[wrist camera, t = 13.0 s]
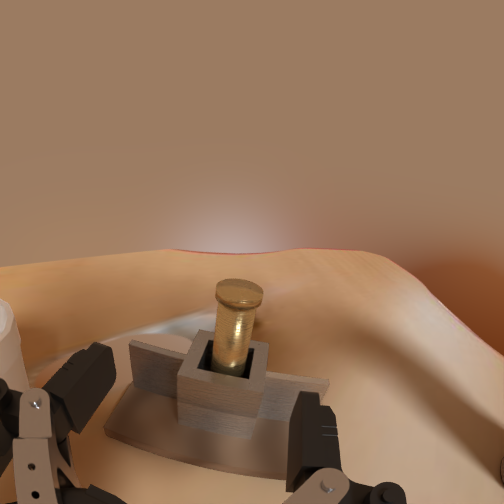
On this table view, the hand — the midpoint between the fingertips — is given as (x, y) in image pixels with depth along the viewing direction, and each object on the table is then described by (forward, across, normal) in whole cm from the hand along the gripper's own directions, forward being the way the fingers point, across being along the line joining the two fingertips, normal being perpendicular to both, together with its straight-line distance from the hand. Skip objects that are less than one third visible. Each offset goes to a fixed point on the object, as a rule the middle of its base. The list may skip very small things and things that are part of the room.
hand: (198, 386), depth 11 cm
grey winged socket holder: (+12, 0, +15) cm, 19 cm away
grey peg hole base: (+12, 0, +16) cm, 20 cm away
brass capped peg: (+12, 0, +15) cm, 19 cm away
